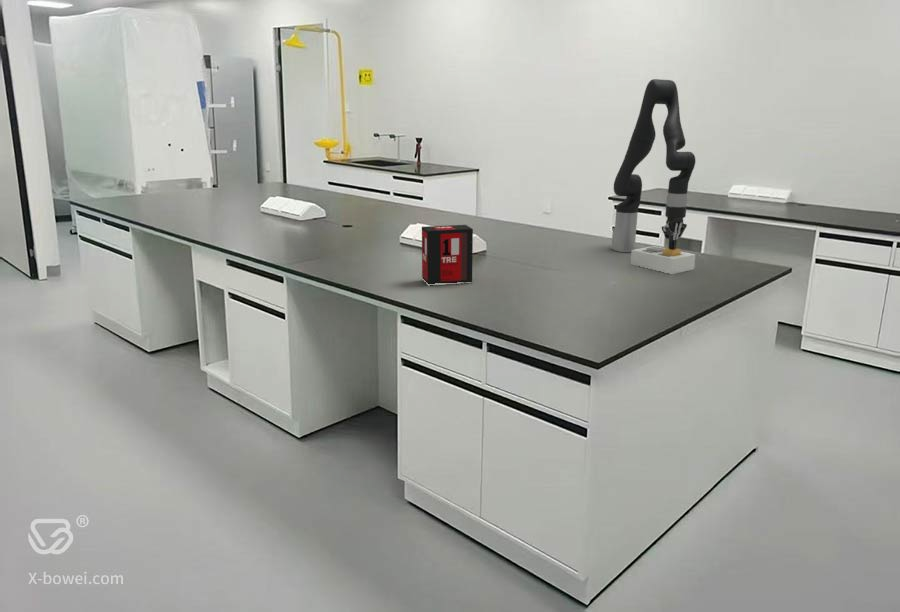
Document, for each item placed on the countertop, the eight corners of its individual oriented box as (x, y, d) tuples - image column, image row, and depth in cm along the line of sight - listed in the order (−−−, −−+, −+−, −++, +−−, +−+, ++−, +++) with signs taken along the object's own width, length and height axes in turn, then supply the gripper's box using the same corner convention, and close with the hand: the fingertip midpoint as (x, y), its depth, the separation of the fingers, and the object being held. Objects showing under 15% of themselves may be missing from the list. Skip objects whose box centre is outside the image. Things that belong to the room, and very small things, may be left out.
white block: (645, 258, 276) (646, 247, 275) (653, 257, 278) (654, 246, 277) (655, 261, 272) (656, 249, 271) (662, 259, 275) (663, 248, 273)
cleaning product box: (465, 277, 256) (465, 224, 250) (472, 283, 248) (472, 228, 242) (422, 280, 252) (421, 226, 246) (427, 286, 244) (427, 231, 238)
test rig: (630, 264, 277) (631, 249, 275) (652, 260, 285) (654, 245, 283) (671, 274, 261) (673, 258, 259) (693, 269, 269) (695, 254, 267)
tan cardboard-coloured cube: (662, 259, 269) (663, 248, 268) (669, 258, 272) (670, 247, 271) (672, 262, 266) (673, 250, 264) (679, 260, 268) (681, 249, 267)
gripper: (679, 202, 269) (674, 245, 274) (657, 205, 262) (653, 249, 267) (695, 204, 263) (690, 248, 268) (673, 207, 256) (669, 252, 261)
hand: (672, 248), depth 267 cm, fingers closed
